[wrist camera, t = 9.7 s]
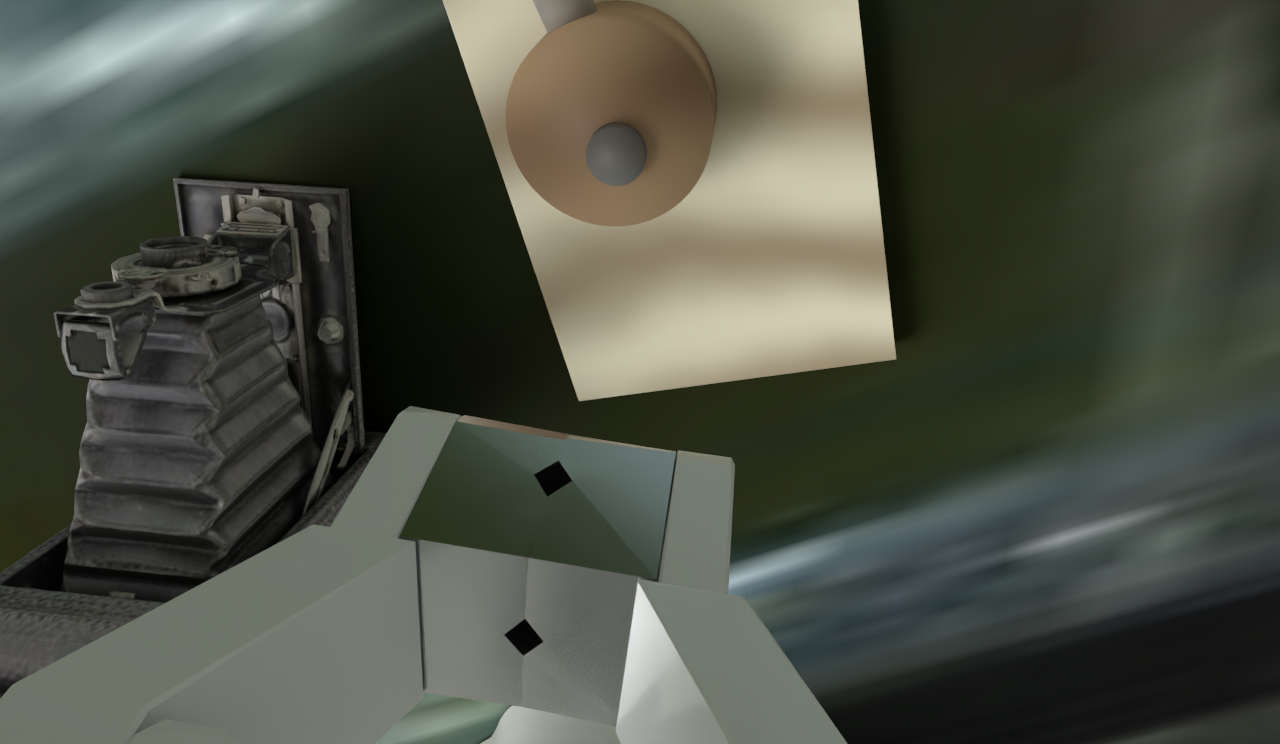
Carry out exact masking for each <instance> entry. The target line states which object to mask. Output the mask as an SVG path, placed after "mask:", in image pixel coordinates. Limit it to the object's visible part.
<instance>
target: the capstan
mask: <svg viewBox="0 0 1280 744" xmlns="http://www.w3.org/2000/svg"><path fill="white" fill-rule="evenodd" d="M533 3H534V5H535V7H536V9H537V11H538V13H539V15H540V18H541V20H542V22H543V24H544V26H545V28H546V31H547V33H546V35H545V36H544V37H543V38H542V39H541V40H540V41H539V42H538V43H537V44H536V46H535V47H534V48H533V49H532V50H531V51H530V52H529V53H528V55H527V56H526V57H525V59H524V60H523V61H522V63H521V64H520V66H519V68H518V70H517V71H516V73H515V75H514V78H513V80H512V83H511V86H510V88H509V93H508V97H507V102H506V114H505V117H506V131H507V137H508V142H509V145H510V149H511V152H512V155H513V157H514V159H515V162H516V164H517V166H518V168H519V169H520V171H521V173H522V174H523V176H524V178H525V179H526V180H527V182H528V183H529V184H530V186H531V187H532V188H533V189H534V190H535V191H536V192H537V193H538V194H539V195H540V196H541V197H542V198H543V199H544V200H545V201H547V202H548V203H549V204H550V205H551V206H553V207H554V208H556V209H558V210H559V211H561V212H562V213H564V214H566V215H568V216H570V217H573V218H575V219H578V220H580V221H583V222H586V223H591V224H595V225H600V226H611V227H614V226H629V225H636V224H640V223H643V222H647V221H650V220H652V219H654V218H657V217H659V216H661V215H663V214H664V213H666V212H668V211H669V210H671V209H672V208H674V207H675V206H676V205H678V204H679V203H680V202H681V201H682V200H683V199H684V198H685V197H686V196H687V195H688V194H689V193H690V192H691V190H692V189H693V188H694V186H695V185H696V184H697V182H698V180H699V178H700V177H701V175H702V173H703V171H704V169H705V166H706V163H707V161H708V158H709V153H710V149H711V144H712V138H713V132H714V127H715V121H716V113H717V90H716V85H715V79H714V76H713V72H712V69H711V66H710V64H709V62H708V59H707V57H706V55H705V53H704V52H703V50H702V48H701V47H700V45H699V44H698V42H697V41H696V40H695V39H694V37H693V36H692V35H691V34H690V32H689V31H687V30H686V29H685V28H684V27H683V26H682V25H681V24H680V23H679V22H677V21H676V20H674V19H673V18H672V17H670V16H669V15H667V14H665V13H663V12H661V11H660V10H658V9H656V8H653V7H650V6H647V5H645V4H641V3H636V2H631V1H619V0H615V1H603V2H598V3H594V2H593V0H533Z"/></svg>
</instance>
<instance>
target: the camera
mask: <svg viewBox="0 0 1280 744" xmlns="http://www.w3.org/2000/svg"><path fill="white" fill-rule="evenodd" d="M173 183H174V190H175V197H176V204H177V212H178V219H179V226H180V233H181V236H171V237H163V238H155V239H149V240H146V241H144V242H141V243H140V250H141V253H137V254H133V255H130V256H126V257H123V258H119V259H118V260H117V261H115V262H114V263H112V264H111V268H112V275H113V281H114V282H111V281H105V282H98V283H93V284H90V285H87V286H85V287H83V288H82V289H81V290H80V291H81V295H82V296H80V297H78V298H76V299H75V300H74V301H75V305H74V306H71V307H68V308H65V309H63V310H60V311H57V312H55V313H54V318H55V323H56V328H57V333H58V337H62V352H63V355H64V358H65V360H66V363H67V366H68V368H69V370H70V371H71V372H72V374H73V375H72V376H71V377H75V378H79V379H90V380H89V383H88V389H87V397H86V407H87V424H86V427H85V430H84V433H83V436H82V440H81V445H80V450H79V457H80V471H79V475H78V479H77V484H76V488H75V508H74V518H73V521H72V524H71V525H69V526H68V527H66V528H65V529H64V530H62V531H61V532H59V533H58V534H56V535H55V536H53V537H52V538H51V539H49V540H48V541H46V542H45V543H43V544H42V545H40V546H39V547H38V548H36V549H35V550H33V551H32V552H30V553H29V554H28V555H26V556H25V557H23V558H22V559H20V560H19V561H17V562H16V563H15V564H13V565H12V566H10V567H9V568H7V569H6V570H5V571H3V572H2V573H0V699H1V697H2V696H3V695H4V694H5V693H6V692H7V690H8V689H9V688H10V687H11V686H12V685H13V684H14V683H16V682H18V681H20V680H22V679H24V678H26V677H28V676H29V675H31V674H33V673H35V672H37V671H39V670H41V669H43V668H44V667H46V666H48V665H50V664H52V663H54V662H56V661H58V660H60V659H61V658H63V657H65V656H67V655H69V654H71V653H73V652H75V651H76V650H78V649H80V648H82V647H84V646H86V645H88V644H90V643H91V642H93V641H95V640H97V639H99V638H101V637H103V636H105V635H106V634H108V633H110V632H112V631H114V630H116V629H118V628H120V627H121V626H123V625H125V624H127V623H129V622H131V621H133V620H135V619H136V618H138V617H140V616H142V615H144V614H146V613H148V612H150V611H151V610H153V609H155V608H157V607H159V606H161V605H163V604H165V603H166V602H168V601H170V600H172V599H174V598H176V597H178V596H180V595H181V594H183V593H185V592H187V591H189V590H191V589H193V588H195V587H197V586H198V585H200V584H202V583H204V582H206V581H208V580H210V579H212V578H213V577H215V576H217V575H219V574H221V573H223V572H225V571H227V570H228V569H230V568H232V567H234V566H236V565H238V564H240V563H242V562H243V561H245V560H247V559H249V558H251V557H253V556H255V555H257V554H258V553H260V552H262V551H264V550H266V549H268V548H270V547H272V546H273V545H275V544H277V543H279V542H281V541H283V540H285V539H287V538H288V537H290V536H292V535H294V534H296V533H298V532H300V531H302V530H303V529H305V528H307V527H309V526H311V525H313V524H314V525H320V526H326V527H331V525H332V523H333V522H334V520H335V518H336V517H337V515H338V513H339V512H340V510H341V508H342V507H343V505H344V503H345V502H346V500H347V498H348V497H349V495H350V493H351V492H352V490H353V488H354V487H355V485H356V483H357V482H358V480H359V478H360V477H361V475H362V473H363V472H364V470H365V468H366V467H367V465H368V463H369V462H370V460H371V458H372V457H373V455H374V453H375V452H376V450H377V449H378V447H379V445H380V444H381V442H382V440H383V439H384V437H385V435H386V434H387V433H380V432H369V431H364V420H363V405H362V389H361V374H360V358H359V343H358V327H357V312H356V296H355V280H354V265H353V249H352V234H351V218H350V203H349V189H345V188H329V187H314V186H298V185H283V184H267V183H251V182H236V181H220V180H204V179H189V178H173ZM279 280H280V285H279Z"/></svg>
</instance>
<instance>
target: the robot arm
mask: <svg viewBox="0 0 1280 744" xmlns="http://www.w3.org/2000/svg"><path fill="white" fill-rule="evenodd" d="M675 455H676V452H675V451H668V450H662V449H656V448H649V447H643V446H637V445H630V444H624V443H617V442H611V441H605V440H598V439H592V438H586V437H579V436H573V435H569V434H564V433H559V432H553V431H548V430H543V429H537V428H532V427H526V426H521V425H516V424H510V423H505V422H499V421H494V420H489V419H483V418H478V417H472V416H467V415H464V416H460V415H458V414H453V413H447V412H441V411H436V410H430V409H424V408H419V407H413V406H410V407H408V408H406V409H405V410H403V411H402V412H401V413H399V414H398V415H397V417H396V419H395V420H394V422H393V424H392V425H391V427H390V429H389V430H388V432H387V434H386V435H385V437H384V439H383V440H382V442H381V444H380V445H379V447H378V449H377V450H376V452H375V453H374V455H373V457H372V458H371V460H370V462H369V463H368V465H367V467H366V468H365V470H364V472H363V473H362V475H361V477H360V478H359V480H358V482H357V483H356V485H355V487H354V488H353V490H352V492H351V493H350V495H349V497H348V498H347V500H346V502H345V503H344V505H343V507H342V508H341V510H340V512H339V513H338V515H337V517H336V518H335V520H334V522H333V523H332V525H331V527H326V526H320V525H314V524H313V525H311V526H309V527H307V528H305V529H303V530H302V531H300V532H298V533H296V534H294V535H292V536H290V537H288V538H287V539H285V540H283V541H281V542H279V543H277V544H275V545H273V546H272V547H270V548H268V549H266V550H264V551H262V552H260V553H258V554H257V555H255V556H253V557H251V558H249V559H247V560H245V561H243V562H242V563H240V564H238V565H236V566H234V567H232V568H230V569H228V570H227V571H225V572H223V573H221V574H219V575H217V576H215V577H213V578H212V579H210V580H208V581H206V582H204V583H202V584H200V585H198V586H197V587H195V588H193V589H191V590H189V591H187V592H185V593H183V594H181V595H180V596H178V597H176V598H174V599H172V600H170V601H168V602H166V603H165V604H163V605H161V606H159V607H157V608H155V609H153V610H151V611H150V612H148V613H146V614H144V615H142V616H140V617H138V618H136V619H135V620H133V621H131V622H129V623H127V624H125V625H123V626H121V627H120V628H118V629H116V630H114V631H112V632H110V633H108V634H106V635H105V636H103V637H101V638H99V639H97V640H95V641H93V642H91V643H90V644H88V645H86V646H84V647H82V648H80V649H78V650H76V651H75V652H73V653H71V654H69V655H67V656H65V657H63V658H61V659H60V660H58V661H56V662H54V663H52V664H50V665H48V666H46V667H44V668H43V669H41V670H39V671H37V672H35V673H33V674H31V675H29V676H28V677H26V678H24V679H22V680H20V681H18V682H16V683H14V684H13V685H12V686H11V687H10V688H9V689H8V690H7V692H6V693H5V694H4V695H3V696H2V697H1V699H0V744H374V743H375V742H376V741H377V740H378V739H379V738H380V737H381V736H382V735H384V734H385V733H386V732H387V731H388V730H389V729H390V728H391V727H392V726H393V725H395V724H396V723H397V722H398V721H399V720H400V719H401V718H402V717H403V716H404V715H406V714H407V713H408V712H409V711H410V710H411V709H412V708H413V707H414V706H416V705H417V704H418V703H419V702H420V701H421V700H422V699H423V692H426V693H433V694H439V695H446V696H453V697H459V698H466V699H473V700H480V701H486V702H493V703H500V704H507V705H512V706H511V707H510V708H509V709H508V710H507V711H506V712H505V714H504V715H503V716H502V718H501V719H500V721H499V724H498V726H497V728H496V730H495V732H494V734H493V735H492V736H491V738H489V739H487V740H485V741H484V742H482V743H480V744H847V742H846V741H845V739H844V738H843V736H842V735H841V734H840V732H839V731H838V729H837V728H836V726H835V725H834V724H833V722H832V721H831V719H830V718H829V716H828V715H827V714H826V712H825V711H824V709H823V708H822V706H821V705H820V704H819V702H818V701H817V699H816V698H815V696H814V695H813V694H812V692H811V691H810V689H809V688H808V686H807V685H806V684H805V682H804V681H803V679H802V678H801V676H800V675H799V674H798V672H797V671H796V669H795V668H794V666H793V665H792V663H791V662H790V661H789V659H788V658H787V656H786V655H785V653H784V652H783V651H782V649H781V648H780V646H779V645H778V643H777V642H776V641H775V639H774V638H773V636H772V635H771V633H770V632H769V631H768V629H767V628H766V626H765V625H764V623H763V622H762V621H761V619H760V618H759V616H758V615H757V613H756V612H755V611H754V609H753V608H752V606H751V605H750V603H749V602H748V601H747V599H746V598H744V597H739V596H734V595H728V584H729V565H730V546H731V527H732V508H733V490H734V471H735V465H734V462H733V460H732V458H729V457H722V456H715V455H708V454H700V453H693V452H686V451H678V452H677V455H676V458H675Z"/></svg>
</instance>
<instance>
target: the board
mask: <svg viewBox="0 0 1280 744" xmlns="http://www.w3.org/2000/svg"><path fill="white" fill-rule="evenodd" d="M603 1H615V0H593V2H594V3H598V2H603ZM619 1H631V2H636V3H641V4H645V5H647V6H650V7H653V8H656V9H658V10H660V11H661V12H663V13H665V14H667V15H669V16H670V17H672V18H673V19H674V20H676V21H677V22H679V23H680V24H681V25H682V26H683V27H684V28H685V29H686V30H687V31H689V32H690V34H691V35H692V36H693V37H694V39H695V40H696V41H697V42H698V44H699V45H700V47H701V48H702V50H703V52H704V53H705V55H706V57H707V59H708V62H709V64H710V66H711V69H712V72H713V76H714V79H715V85H716V90H717V113H716V121H715V127H714V132H713V138H712V144H711V149H710V153H709V158H708V161H707V163H706V166H705V169H704V171H703V173H702V175H701V177H700V178H699V180H698V182H697V184H696V185H695V186H694V188H693V189H692V190H691V192H690V193H689V194H688V195H687V196H686V197H685V198H684V199H683V200H682V201H681V202H680V203H679V204H678V205H676V206H675V207H674V208H672V209H671V210H669V211H668V212H666V213H664V214H663V215H661V216H659V217H657V218H654V219H652V220H650V221H647V222H643V223H640V224H636V225H629V226H614V227H611V226H600V225H595V224H591V223H586V222H583V221H580V220H578V219H575V218H573V217H570V216H568V215H566V214H564V213H562V212H561V211H559V210H558V209H556V208H554V207H553V206H551V205H550V204H549V203H548V202H547V201H545V200H544V199H543V198H542V197H541V196H540V195H539V194H538V193H537V192H536V191H535V190H534V189H533V188H532V187H531V186H530V184H529V183H528V182H527V180H526V179H525V178H524V176H523V174H522V173H521V171H520V169H519V168H518V166H517V164H516V162H515V159H514V157H513V155H512V152H511V149H510V145H509V142H508V137H507V131H506V117H505V114H506V102H507V97H508V93H509V88H510V86H511V83H512V80H513V78H514V75H515V73H516V71H517V70H518V68H519V66H520V64H521V63H522V61H523V60H524V59H525V57H526V56H527V55H528V53H529V52H530V51H531V50H532V49H533V48H534V47H535V46H536V44H537V43H538V42H539V41H540V40H541V39H542V38H543V37H544V36H545V35H546V33H547V31H546V28H545V26H544V24H543V22H542V20H541V18H540V15H539V13H538V11H537V9H536V7H535V5H534V3H533V0H443V3H444V6H445V9H446V12H447V15H448V18H449V21H450V24H451V26H452V29H453V32H454V35H455V38H456V41H457V44H458V47H459V50H460V53H461V56H462V59H463V62H464V65H465V68H466V71H467V74H468V76H469V79H470V82H471V85H472V88H473V91H474V94H475V97H476V100H477V103H478V106H479V109H480V112H481V115H482V118H483V121H484V124H485V126H486V129H487V132H488V135H489V138H490V141H491V144H492V147H493V150H494V153H495V156H496V159H497V162H498V165H499V168H500V171H501V174H502V176H503V179H504V182H505V185H506V188H507V191H508V194H509V197H510V200H511V203H512V206H513V209H514V212H515V215H516V218H517V221H518V224H519V227H520V229H521V232H522V235H523V238H524V241H525V244H526V247H527V250H528V253H529V256H530V259H531V262H532V265H533V268H534V271H535V274H536V277H537V279H538V282H539V285H540V288H541V291H542V294H543V297H544V300H545V303H546V306H547V309H548V312H549V315H550V318H551V321H552V324H553V327H554V329H555V332H556V335H557V338H558V341H559V344H560V347H561V350H562V353H563V356H564V359H565V362H566V365H567V368H568V371H569V374H570V377H571V379H572V382H573V385H574V388H575V391H576V394H577V397H578V400H579V401H584V400H591V399H599V398H606V397H614V396H622V395H629V394H637V393H644V392H652V391H659V390H667V389H675V388H682V387H690V386H697V385H705V384H712V383H720V382H728V381H735V380H743V379H750V378H758V377H765V376H773V375H781V374H788V373H796V372H803V371H811V370H818V369H826V368H834V367H841V366H849V365H856V364H864V363H871V362H879V361H887V360H894V359H896V352H895V343H894V333H893V324H892V315H891V305H890V296H889V286H888V277H887V268H886V258H885V249H884V240H883V230H882V221H881V211H880V202H879V193H878V183H877V174H876V165H875V155H874V146H873V136H872V127H871V118H870V108H869V99H868V90H867V80H866V71H865V61H864V52H863V43H862V33H861V24H860V15H859V5H858V0H619Z"/></svg>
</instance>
